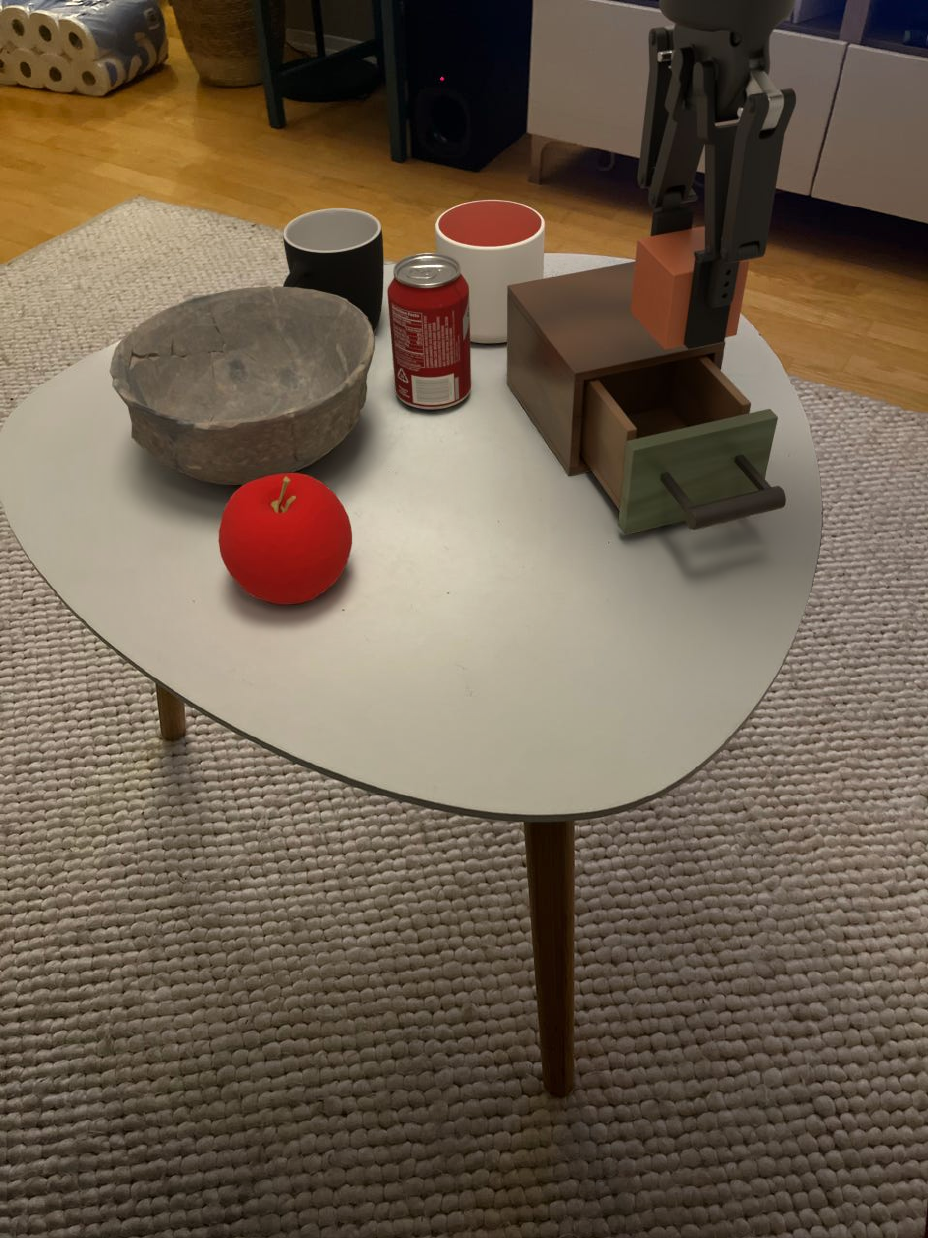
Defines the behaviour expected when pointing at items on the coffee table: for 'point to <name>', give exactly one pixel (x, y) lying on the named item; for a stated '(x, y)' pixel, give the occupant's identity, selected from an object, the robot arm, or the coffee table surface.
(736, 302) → the block
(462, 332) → the soda can
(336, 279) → the mug
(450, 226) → the cup
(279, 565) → the fruit
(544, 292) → the cabinet
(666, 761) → the coffee table surface
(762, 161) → the robot arm
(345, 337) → the bowl
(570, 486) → the coffee table surface
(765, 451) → the drawer
